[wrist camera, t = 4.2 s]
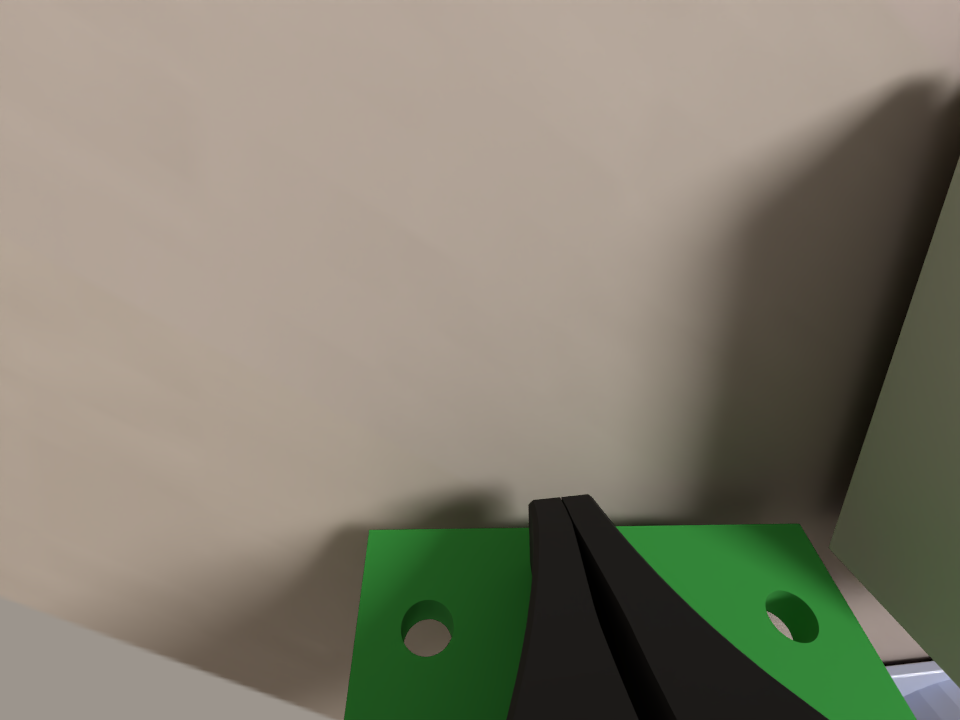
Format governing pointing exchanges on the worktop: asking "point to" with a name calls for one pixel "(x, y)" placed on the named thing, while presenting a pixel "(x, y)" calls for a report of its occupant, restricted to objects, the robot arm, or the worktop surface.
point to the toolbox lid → (916, 464)
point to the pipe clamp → (668, 550)
